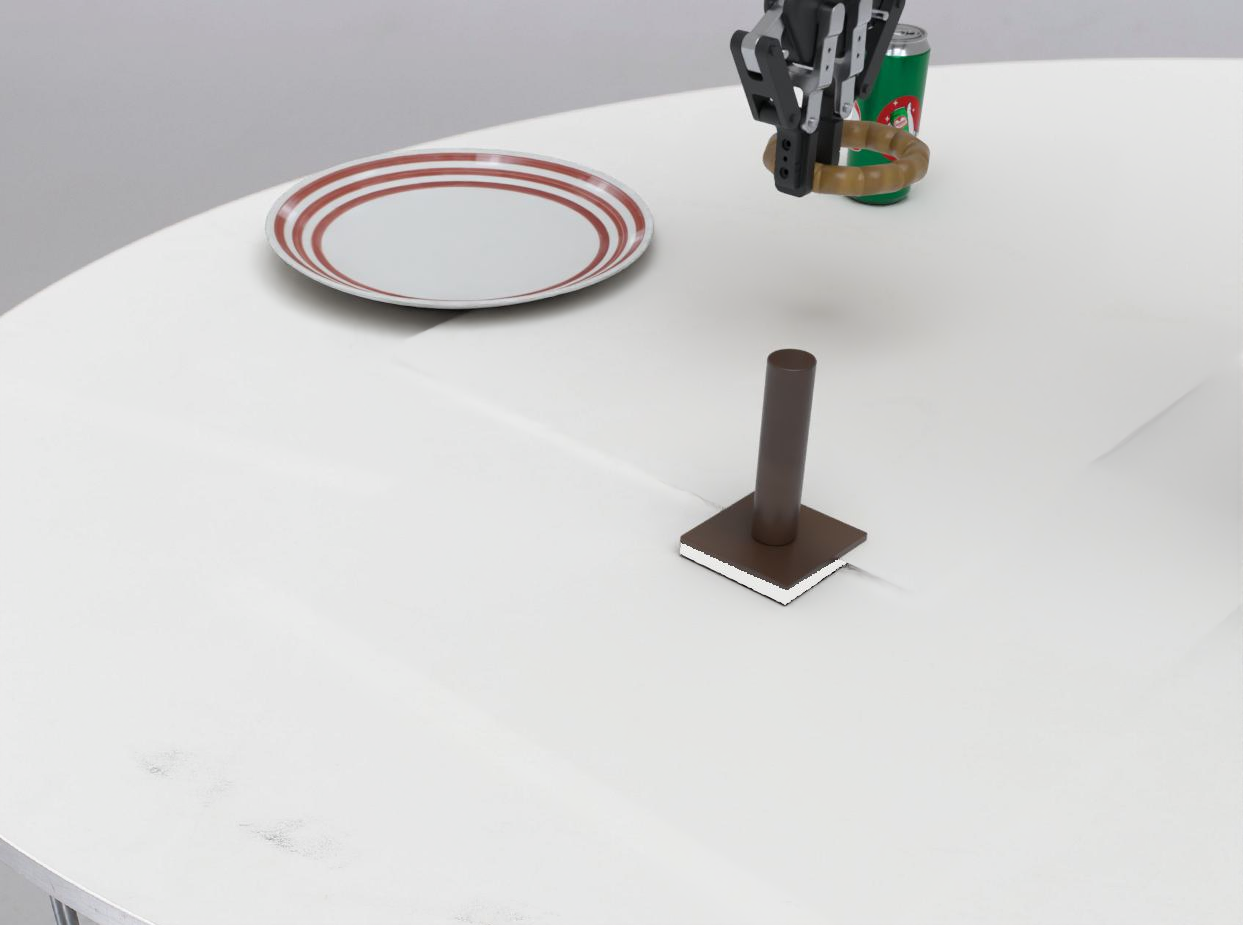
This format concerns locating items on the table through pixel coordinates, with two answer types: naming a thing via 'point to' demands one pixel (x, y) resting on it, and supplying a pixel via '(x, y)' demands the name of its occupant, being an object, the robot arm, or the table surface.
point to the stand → (779, 491)
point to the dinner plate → (459, 227)
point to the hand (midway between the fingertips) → (805, 186)
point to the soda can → (894, 99)
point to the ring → (868, 178)
